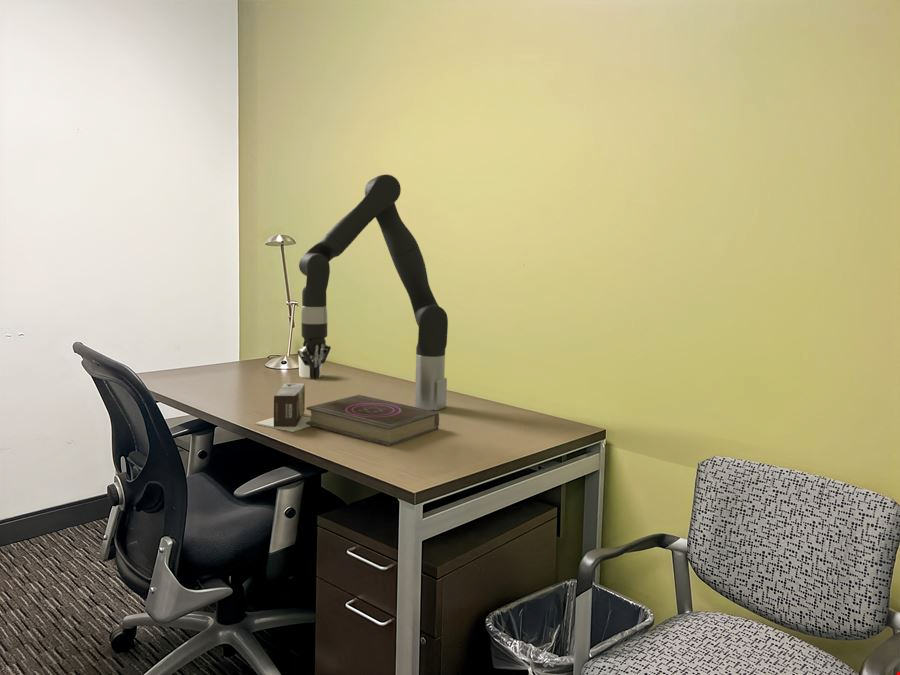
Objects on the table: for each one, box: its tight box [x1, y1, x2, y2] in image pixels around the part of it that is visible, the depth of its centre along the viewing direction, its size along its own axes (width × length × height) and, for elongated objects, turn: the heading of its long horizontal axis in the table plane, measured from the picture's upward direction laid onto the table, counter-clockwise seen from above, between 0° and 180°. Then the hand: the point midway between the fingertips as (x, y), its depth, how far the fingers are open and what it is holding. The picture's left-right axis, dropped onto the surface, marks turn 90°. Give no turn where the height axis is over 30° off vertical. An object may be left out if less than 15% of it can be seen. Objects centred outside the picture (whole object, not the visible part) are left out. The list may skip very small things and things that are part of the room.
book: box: [305, 394, 440, 447], centre depth 197 cm, size 30×22×5 cm
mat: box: [255, 413, 313, 433], centre depth 200 cm, size 14×16×1 cm
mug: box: [297, 348, 323, 380], centre depth 264 cm, size 11×9×10 cm
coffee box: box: [273, 382, 306, 427], centre depth 200 cm, size 9×6×16 cm
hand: (314, 378), depth 206 cm, fingers closed
